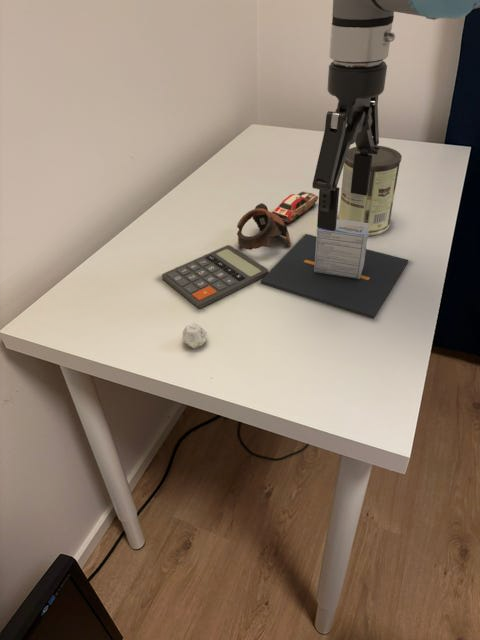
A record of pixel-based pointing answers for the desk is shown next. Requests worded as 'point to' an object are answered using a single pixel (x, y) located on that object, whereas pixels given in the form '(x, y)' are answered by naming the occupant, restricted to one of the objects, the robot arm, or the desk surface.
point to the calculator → (214, 275)
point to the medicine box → (342, 249)
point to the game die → (194, 335)
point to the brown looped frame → (262, 228)
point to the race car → (295, 206)
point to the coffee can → (371, 190)
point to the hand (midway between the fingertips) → (343, 210)
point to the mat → (336, 279)
